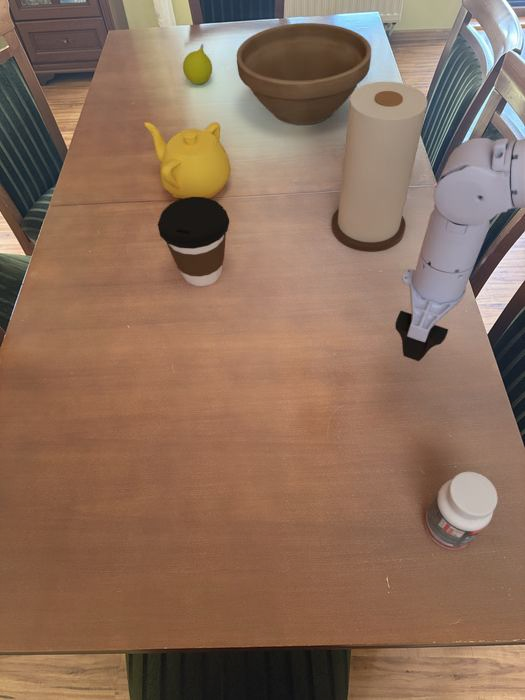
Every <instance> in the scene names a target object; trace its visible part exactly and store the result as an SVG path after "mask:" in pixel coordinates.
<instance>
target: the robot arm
mask: <svg viewBox="0 0 525 700" xmlns="http://www.w3.org/2000/svg"><path fill="white" fill-rule="evenodd" d="M433 201H434V204H433V210H432V212H431V213H430V215H429V219H428V223H427V226H426V229H425V233H424V236H423V241H422V245H421V248H420V252H419V254H418V258H417V262H416V266H415V269H412V268H406V269H405V271H404V272H403V274H402V276H401V283H402V284H403V285H406V286H408V288H409V296H410V311H411V312H407V311H404V310H400V311H399V313H398V315H397V317H396V321H395V325H394V326H395V330H396V331H397V333H398V335H399V336H400V338H401V345H402V346H401V347H402V348H401V349H402V356H403V357H405V358H408V359H411V360H414V361H416V362H420V361H421V360H423V358H424V357H425V356H426V355H427V353H428V352H429V351H430V350H431V349H433V348H434V347H436V346H438V345H441V344H442V343H443V342H444V341H445V339H446V338H447V335H448V332H449V329H448V328H446V327H443V326H440V325H437V323H438V322H439V321H440V320H441V319H443V318H444V317H445V316H446V315H447V314H448V313H450V312H451V311H452V310H453V309H454V308H455V307H456V306H458V305H459V303H460V302H462V301H463V299H464V297H465V295H466V292H467V284H468V283H469V280H470V277H471V275H472V272H473V270H474V267H475V266H476V265H475V264H476V262H477V259H478V257H479V254H480V252H481V249H482V247H483V244H484V242H485V240H486V237H487V234H488V232H489V229H490V224H491V223H490V221H491V220H492V219H494V217H496V216H498V214H503V213H507V212H508V210H511V209H522V208H524V209H525V138H521V139H517V140H511V141H509V138H508V137H506V138H499V139H496V140H495V139H494V140H492V139H491V138H488V137H474V138H471V139H468V140H466V141H463V142H461V143H460V145H459V146H458V145H457V146H456V147H455V148H454V149H453V151H452V152H451V154H450V155H449V156H448V157H447V162H446V163H445V166H444V168H443V170H442V172H441V173H440V176H439V178H438V181H437V183H436V185H435V189H434V193H433Z"/></svg>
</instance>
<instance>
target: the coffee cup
mask: <svg viewBox="0 0 525 700" xmlns="http://www.w3.org/2000/svg"><path fill="white" fill-rule="evenodd" d="M229 226H230V217H229V214H228V212H227V210H226V209H225V208H224V206H223V205H222V204H220V203H219V202H218V201H216V200H214V199H211V198H209V199H208V198H206V197H188V198H183V199H181V198H179V199H177V200H176V201H173V202H171V203H170V204H168V206H166V207H165V208H164V209H163V210H162V212H161V214H160V216H159V219H158V222H157V229H158V233H159V236H160V238H161V239H162V240H163V241H164V242H165V243H166V245H167V247H168V249H169V252H170V255H171V256H172V259H173V260H174V263H175V265H176V267H177V269H178V270H179V271H180V273H181V275H182V277H183V279H184V280H185V281H186V282H187V283H188V284H189V285H191V286H194V287H202V288H203V287H207V286H211V285H213V284H215V283H216V282H217V281H218V280H219V278H220V277H221V275H222V272H223V263H224V260H225V252H226V251H225V249H226V238H227V232H228V230H229Z"/></svg>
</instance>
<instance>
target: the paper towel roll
mask: <svg viewBox="0 0 525 700" xmlns="http://www.w3.org/2000/svg"><path fill="white" fill-rule="evenodd" d="M349 97H350V98H349V106H348V116H347V125H346V135H345V143H344V144H345V145H344V155H343V166H342V173H341V174H342V175H341V182H340V183H341V185H340V194H339V201H338V202H339V204H338V208H337V209H336V210H335V211H334V213H333V214H332V218H331V231H332V234H333V236H334V237H335V238H336V239H337V240H338V242H340V243H341V244H342V245H344V246H346V247H347V248H350V249H353V250H356V251H360V252H367V253H370V252H381V251H386V250H388V249H391V248H393V247H394V246H396V245H397V244H398V243H400V241H401V240H402V239H403V238H404V235H405V231H406V220H405V218H404V216H403V213H404V209H405V205H406V200H407V196H408V192H409V187H410V182H411V177H412V174H413V170H414V165H415V160H416V156H417V152H418V147H419V143H420V139H421V134H422V129H423V125H424V121H425V116H426V111H427V106H428V98H427V96H426V95H425V94H424V93H423V91H421V90H419V88H416V87H415V86H412V85H409V84H406V83H403V82H396V81H375V82H370V83H366V84H363V85H361V86H359V87H356V88H355V90H354V91H353V93H352V94H351V95H350V96H349Z"/></svg>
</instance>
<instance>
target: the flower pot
mask: <svg viewBox="0 0 525 700" xmlns="http://www.w3.org/2000/svg"><path fill="white" fill-rule="evenodd" d="M371 60H372V46H371V44H370V42H369V41H368V40H367V39H366V38H365V37H364V36H363V35H361V34H360V33H358V32H356V31H353V30H352V29H349V28H346V27H342V26H338V25H334V24H327V23H318V22H301V23H299V22H298V23H297V22H296V23H290V24H284V25H279V26H274V27H271V28H267V29H264V30H262V31H259V32H257V33H255V34H253V35H251V36H250V37H248V38H247V39H245V40H244V41H243V42H242V43H241V44H240V45H239V47H238V49H237V51H236V66H237V73H238V75H239V78H240V80H241V82H242V83H243V84H244V85H245V86H246V87H248V88H249V89H250V90H251V92H252V94H253V96H255V98H256V99H257V100H258V101H259V103H261V104H262V106H264V107H265V109H267V110H268V111H269V112H270V113H271V114H272V115H273V116H274V117H276V118H277V119H278V120H279V121H281V122H283V123H285V124H288V125H293V126H309V125H315V124H318V123H322V122H324V121H326V120H327V119H329V118H330V117H331V116H332V114H334V113H335V112H336V111H337V110H339V108H341V106H343V105H344V103H346V101H347V100H348V99H349V97H351V94H352V93H353V92H354V91H355V90H356V89H357V86H358V84H360V83H361V82H362V81H363V80H365V78H366V77H367V76H368V73H369V72H370V66H371V62H372V61H371Z"/></svg>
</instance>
